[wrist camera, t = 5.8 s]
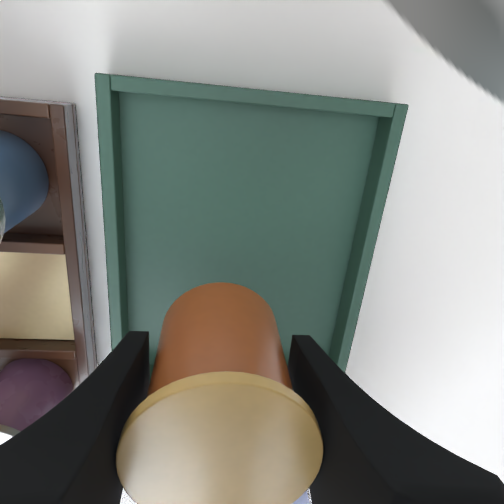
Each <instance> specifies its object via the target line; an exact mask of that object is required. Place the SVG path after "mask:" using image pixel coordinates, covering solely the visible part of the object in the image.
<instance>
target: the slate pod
mask: <svg viewBox="0 0 504 504" xmlns="http://www.w3.org/2000/svg"><path fill="white" fill-rule="evenodd" d="M48 188H49V179H48V174H47V170H46V167H45V165H44V163H43V161H42V159H41V158H40V156H39V155H38V154H37V152H36V151H35V150H34V149H33V148H32V147H31V146H30V145H29V144H28V143H26V142H25V141H24V140H22V139H21V138H19V137H17V136H15V135H14V134H11V133H9V132H6V131H2V130H0V243H1V241H2V238H3V235H4V233H5V232H7V231H8V230H10V229H11V228H12V227H14V226H15V225H17V224H18V223H20V222H21V221H22V220H24V219H25V218H27V217H28V216H30V215H31V214H32V213H34V212H35V211H36V210H38V209H39V208H40V207H41V205H42V204H43V203H44V201H45V199H46V197H47V193H48Z"/></svg>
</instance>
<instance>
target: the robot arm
mask: <svg viewBox="0 0 504 504" xmlns="http://www.w3.org/2000/svg"><path fill="white" fill-rule="evenodd" d="M287 368H288V372H289V376H290V380H291V384H292V388H293V391H294V392H295V393H296V394H298V395H299V396H300V397H301V398H302V399H303V400H304V401H305V402H306V403H307V404H308V405H309V407H310V408H311V410H312V411H313V413H314V415H315V417H316V419H317V422H318V425H319V428H320V431H321V435H322V439H323V458H322V463H321V466H320V470H319V472H318V474H317V476H316V478H315V480H314V481H313V483H312V484H311V485H310V493H311V499H312V504H504V484H503V482H502V481H501V480H500V479H499V477H498V476H497V475H495V474H493V473H491V472H489V471H487V470H485V469H483V468H481V467H479V466H477V465H475V464H473V463H471V462H469V461H467V460H465V459H463V458H461V457H459V456H457V455H455V454H453V453H452V452H450V451H448V450H446V449H445V448H443V447H441V446H439V445H438V444H436V443H434V442H433V441H431V440H429V439H428V438H426V437H425V436H423V435H421V434H420V433H418V432H417V431H415V430H414V429H412V428H411V427H409V426H408V425H406V424H405V423H403V422H402V421H401V420H399V419H398V418H396V417H395V416H394V415H392V414H391V413H390V412H389V411H387V410H386V409H385V408H383V407H382V406H381V405H380V404H378V403H377V402H376V401H375V400H373V399H372V398H371V397H370V396H369V395H368V394H366V393H365V392H364V391H363V390H362V389H361V388H360V387H359V386H358V385H357V384H356V383H354V382H353V381H352V380H351V379H350V378H349V377H348V376H347V375H346V374H345V373H344V372H343V371H342V370H341V369H340V368H339V367H338V366H337V365H336V363H335V362H334V361H333V360H332V359H331V358H330V357H329V356H328V355H327V354H326V353H325V351H324V350H323V349H322V348H321V347H320V346H319V345H318V344H317V343H316V341H315V340H314V339H313V338H312V337H311V336H310V335H292V340H291V347H290V353H289V359H288V365H287ZM149 382H150V363H149V331H129V332H128V333H127V334H126V335H125V336H124V337H123V339H122V340H121V341H120V342H119V343H118V345H117V346H116V347H115V348H114V349H113V350H112V352H111V353H110V354H109V355H108V356H107V357H106V358H105V359H104V360H103V361H102V363H101V364H100V365H99V366H98V367H97V368H96V369H95V370H94V371H93V372H92V373H91V374H90V375H89V376H88V377H87V378H86V379H85V380H84V381H83V382H82V383H81V384H80V385H79V386H78V387H76V388H75V389H74V390H73V391H72V392H71V393H70V394H69V395H68V396H67V397H65V398H64V399H63V400H62V401H61V402H60V403H58V404H57V405H56V406H55V407H53V408H52V409H51V410H50V411H48V412H47V413H46V414H45V415H43V416H42V417H41V418H39V419H38V420H36V421H35V422H34V423H32V424H31V425H29V426H28V427H26V428H25V429H24V430H22V431H21V432H19V433H18V434H16V435H15V436H13V437H12V438H10V439H9V440H7V441H6V442H4V443H2V444H1V445H0V504H120V499H121V494H122V490H123V486H122V484H121V482H120V480H119V477H118V474H117V468H116V451H117V447H118V442H119V439H120V435H121V432H122V430H123V427H124V425H125V423H126V421H127V419H128V418H129V416H130V415H131V413H132V412H133V411H134V410H135V409H136V408H137V406H138V405H139V404H140V403H141V402H142V401H144V400H145V399H146V397H147V393H148V388H149ZM292 504H309V500H308V495H307V490H306V491H305V493H304V494H303V495H302V496H301V497H299V498H298V499H297V500H296V501H295V502H294V503H292Z"/></svg>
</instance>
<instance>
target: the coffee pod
mask: <svg viewBox="0 0 504 504" xmlns="http://www.w3.org/2000/svg"><path fill="white" fill-rule="evenodd" d="M322 458H323V439H322V435H321V431H320V428H319V425H318V422H317V419H316V417H315V415H314V413H313V411H312V410H311V408H310V407H309V405H308V404H307V403H306V402H305V401H304V400H303V399H302V398H301V397H300V396H299V395H298V394H296V393H295V392H294V391H293V388H292V384H291V380H290V376H289V372H288V368H287V364H286V360H285V356H284V352H283V348H282V344H281V340H280V336H279V332H278V328H277V324H276V320H275V316H274V314H273V312H272V309H271V308H270V306H269V305H268V303H267V302H266V301H265V300H264V299H263V298H262V297H261V296H260V295H258V294H257V293H255V292H254V291H252V290H250V289H248V288H246V287H244V286H241V285H237V284H233V283H225V282H218V283H208V284H204V285H200V286H198V287H195V288H193V289H191V290H189V291H187V292H185V293H184V294H183V295H181V296H180V297H179V298H178V299H177V300H176V301H174V303H173V304H172V305H171V306H170V308H169V310H168V311H167V313H166V315H165V318H164V321H163V325H162V330H161V334H160V339H159V343H158V348H157V352H156V357H155V361H154V366H153V370H152V375H151V379H150V384H149V388H148V393H147V397H146V399H145V400H144V401H142V402H141V403H140V404H139V405H138V406H137V408H136V409H135V410H134V411H133V412H132V413H131V415H130V416H129V418H128V419H127V421H126V423H125V425H124V427H123V430H122V432H121V435H120V439H119V442H118V447H117V451H116V468H117V474H118V477H119V480H120V482H121V484H122V486H123V488H124V489H125V491H126V493H127V494H128V495H129V496H130V497H131V499H132V500H133V501H134V502H136V503H137V504H292V503H294V502H295V501H296V500H297V499H298V498H299V497H301V496H302V495H303V494H304V493H305V491H306V490H307V489H308V488H309V487H310V485H311V484H312V483H313V481H314V480H315V478H316V476H317V474H318V472H319V470H320V466H321V463H322Z"/></svg>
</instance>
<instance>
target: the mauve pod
mask: <svg viewBox="0 0 504 504" xmlns="http://www.w3.org/2000/svg"><path fill="white" fill-rule="evenodd" d="M72 391H73V385H72V381H71V379H70V377H69V375H68V374H67V373H66V372H65V371H64V370H63V369H62V368H61V367H60V366H58V365H56V364H55V363H53V362H50V361H48V360H44V359H25V358H22V359H18V360H15V361H12V362H11V363H9V364H7V365H6V366H5V367H4V368H3V369H2V370H1V371H0V445H1V444H2V443H4V442H6V441H7V440H9V439H10V438H12V437H13V436H15V435H16V434H18V433H19V432H21V431H22V430H24V429H25V428H26V427H28V426H29V425H31V424H32V423H34V422H35V421H36V420H38V419H39V418H41V417H42V416H43V415H45V414H46V413H47V412H48V411H50V410H51V409H52V408H53V407H55V406H56V405H57V404H58V403H60V402H61V401H62V400H63V399H64V398H65V397H67V396H68V395H69V394H70V393H71V392H72Z"/></svg>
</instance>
